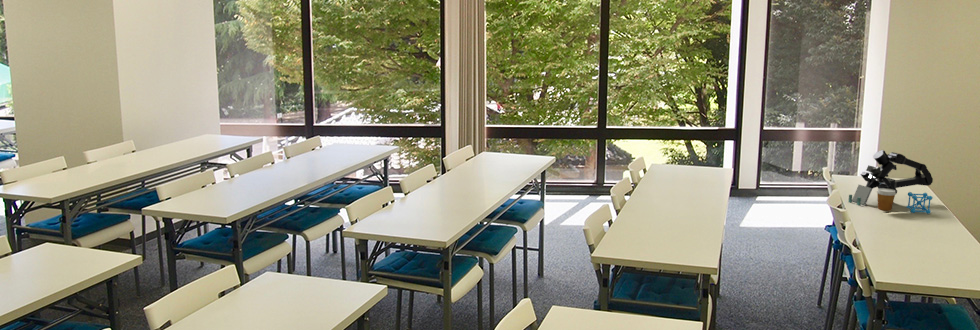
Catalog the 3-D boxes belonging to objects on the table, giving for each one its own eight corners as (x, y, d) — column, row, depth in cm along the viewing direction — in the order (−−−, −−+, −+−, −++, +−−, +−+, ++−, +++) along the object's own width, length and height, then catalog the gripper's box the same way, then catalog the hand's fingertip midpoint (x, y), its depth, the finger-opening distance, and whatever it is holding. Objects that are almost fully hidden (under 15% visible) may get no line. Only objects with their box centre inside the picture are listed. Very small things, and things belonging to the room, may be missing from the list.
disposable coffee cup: (889, 209, 430) (892, 188, 428) (897, 213, 421) (899, 192, 419) (872, 209, 431) (874, 187, 429) (878, 213, 422) (880, 191, 420)
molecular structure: (931, 214, 420) (933, 196, 418) (911, 213, 422) (913, 195, 420) (925, 210, 430) (926, 192, 428) (905, 209, 432) (907, 191, 430)
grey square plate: (852, 202, 444) (860, 185, 443) (864, 206, 435) (872, 188, 434) (851, 201, 444) (858, 184, 443) (863, 205, 435) (871, 188, 434)
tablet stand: (860, 202, 448) (861, 192, 447) (876, 207, 435) (877, 197, 434) (844, 203, 445) (845, 193, 444) (861, 208, 432) (861, 198, 431)
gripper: (864, 157, 446) (846, 177, 446) (888, 163, 428) (869, 184, 428) (875, 170, 449) (857, 190, 449) (899, 177, 432) (880, 197, 431)
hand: (865, 190), depth 439 cm, fingers closed
